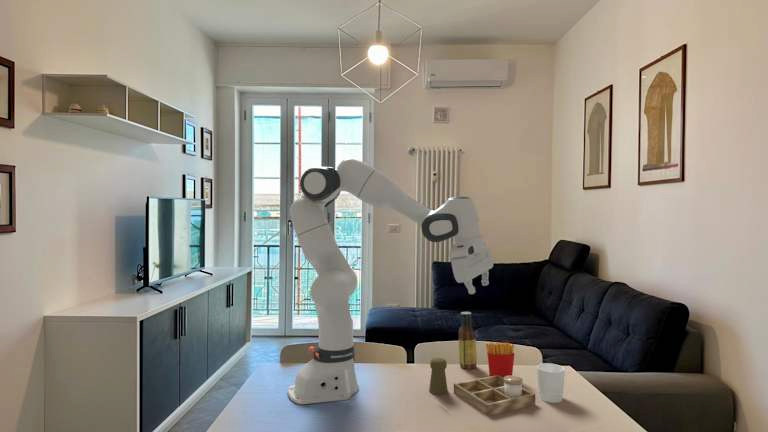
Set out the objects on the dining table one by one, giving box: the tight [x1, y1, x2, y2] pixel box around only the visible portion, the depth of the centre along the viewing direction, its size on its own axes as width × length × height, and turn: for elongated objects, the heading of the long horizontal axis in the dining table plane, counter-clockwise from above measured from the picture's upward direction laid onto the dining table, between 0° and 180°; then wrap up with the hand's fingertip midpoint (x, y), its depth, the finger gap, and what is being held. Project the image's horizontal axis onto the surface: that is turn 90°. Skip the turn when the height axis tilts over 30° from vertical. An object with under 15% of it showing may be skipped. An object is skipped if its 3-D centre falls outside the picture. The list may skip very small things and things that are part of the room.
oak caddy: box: [453, 375, 536, 417], centre depth 142 cm, size 17×17×4 cm
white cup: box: [536, 362, 566, 404], centre depth 142 cm, size 8×8×10 cm
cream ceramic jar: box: [504, 374, 523, 398], centre depth 140 cm, size 5×5×7 cm
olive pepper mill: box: [428, 357, 449, 396], centre depth 148 cm, size 6×6×11 cm
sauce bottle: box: [458, 311, 478, 370], centre depth 172 cm, size 7×6×20 cm
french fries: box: [485, 342, 515, 378], centre depth 158 cm, size 9×4×13 cm, turn 86°
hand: (479, 289), depth 148 cm, fingers open, 8 cm apart
